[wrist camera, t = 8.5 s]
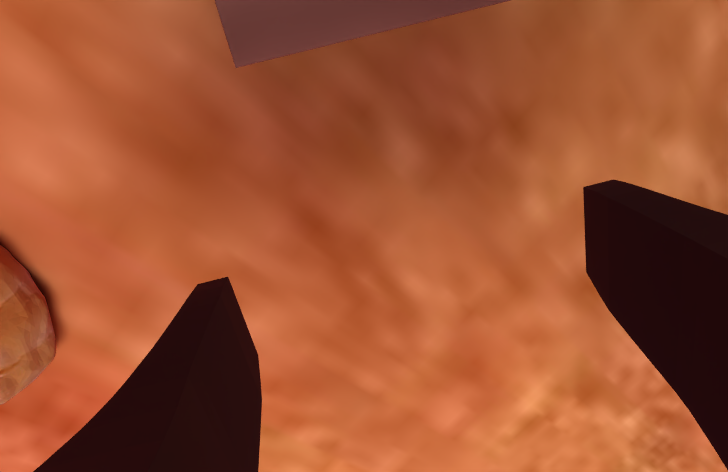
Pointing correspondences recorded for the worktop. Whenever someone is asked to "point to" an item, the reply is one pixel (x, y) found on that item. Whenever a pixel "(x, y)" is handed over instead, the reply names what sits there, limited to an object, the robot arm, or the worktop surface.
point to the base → (320, 22)
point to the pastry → (22, 328)
